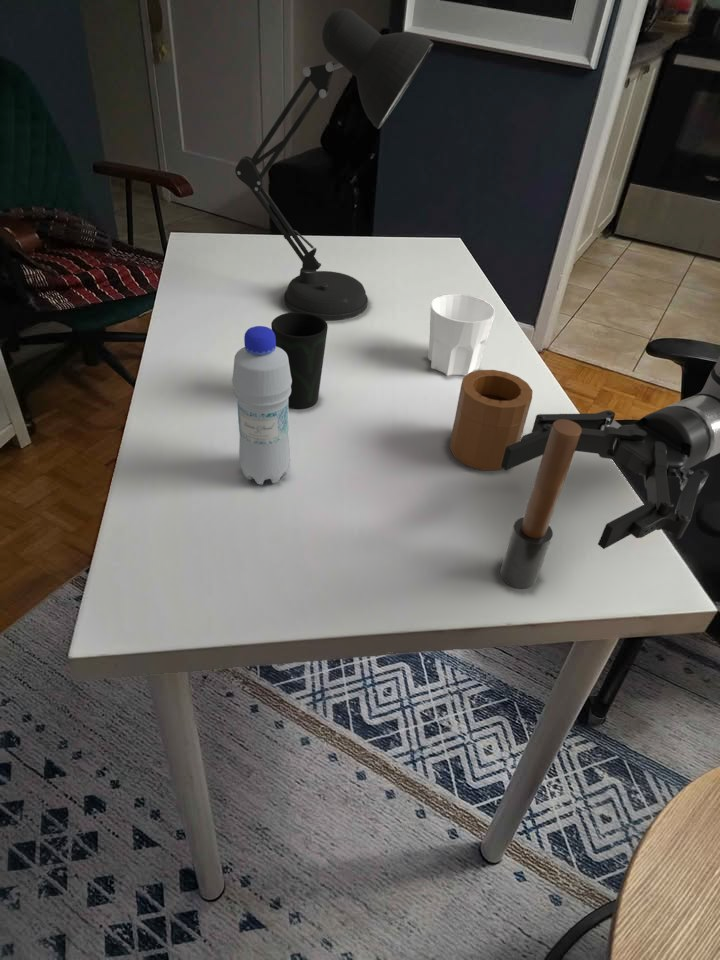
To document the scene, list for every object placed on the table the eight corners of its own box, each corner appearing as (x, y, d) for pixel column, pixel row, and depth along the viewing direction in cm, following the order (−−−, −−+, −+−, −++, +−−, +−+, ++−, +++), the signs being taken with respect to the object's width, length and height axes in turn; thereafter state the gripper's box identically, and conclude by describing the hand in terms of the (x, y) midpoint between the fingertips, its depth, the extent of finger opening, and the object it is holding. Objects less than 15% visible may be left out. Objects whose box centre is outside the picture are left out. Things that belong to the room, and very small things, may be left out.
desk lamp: (423, 318, 119) (465, 20, 90) (296, 345, 108) (298, 15, 79) (356, 269, 135) (374, 2, 106) (240, 288, 124) (224, -4, 95)
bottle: (231, 485, 80) (219, 339, 67) (247, 453, 85) (239, 311, 72) (284, 494, 79) (282, 348, 66) (297, 461, 84) (298, 319, 72)
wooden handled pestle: (542, 573, 72) (596, 426, 59) (527, 594, 69) (580, 445, 57) (510, 556, 74) (555, 409, 61) (494, 576, 71) (538, 428, 58)
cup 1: (265, 406, 93) (262, 331, 86) (283, 381, 99) (283, 307, 92) (315, 417, 92) (317, 341, 85) (331, 390, 98) (334, 317, 90)
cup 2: (476, 349, 111) (487, 295, 105) (489, 380, 103) (501, 323, 97) (419, 348, 110) (426, 293, 104) (427, 378, 103) (436, 321, 96)
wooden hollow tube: (526, 448, 90) (543, 386, 84) (496, 479, 84) (513, 415, 78) (469, 423, 94) (482, 362, 87) (437, 451, 88) (449, 388, 81)
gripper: (765, 524, 70) (640, 603, 60) (587, 410, 85) (465, 457, 75) (800, 470, 65) (670, 546, 55) (605, 359, 80) (477, 403, 71)
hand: (551, 495), depth 65 cm, fingers open, 13 cm apart
